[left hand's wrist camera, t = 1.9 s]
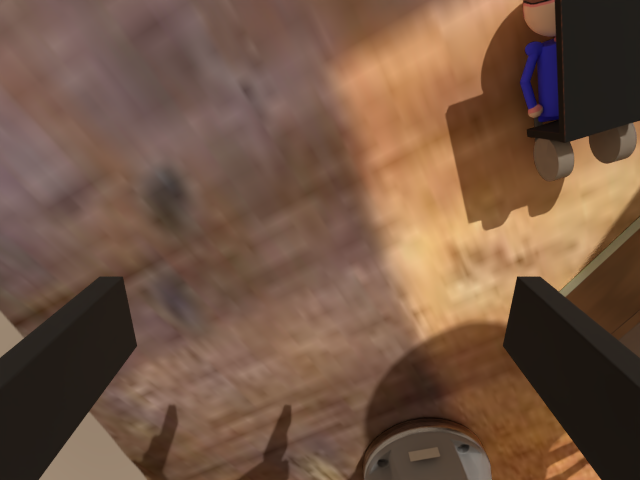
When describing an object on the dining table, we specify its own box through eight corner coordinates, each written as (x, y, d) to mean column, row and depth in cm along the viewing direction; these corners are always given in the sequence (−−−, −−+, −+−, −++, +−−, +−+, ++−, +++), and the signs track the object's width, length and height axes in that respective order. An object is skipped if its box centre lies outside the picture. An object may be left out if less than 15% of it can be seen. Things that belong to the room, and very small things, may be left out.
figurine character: (586, 142, 34) (588, -53, 28) (654, 166, 28) (679, -84, 21) (512, 165, 35) (496, -20, 28) (560, 193, 28) (556, -39, 22)
